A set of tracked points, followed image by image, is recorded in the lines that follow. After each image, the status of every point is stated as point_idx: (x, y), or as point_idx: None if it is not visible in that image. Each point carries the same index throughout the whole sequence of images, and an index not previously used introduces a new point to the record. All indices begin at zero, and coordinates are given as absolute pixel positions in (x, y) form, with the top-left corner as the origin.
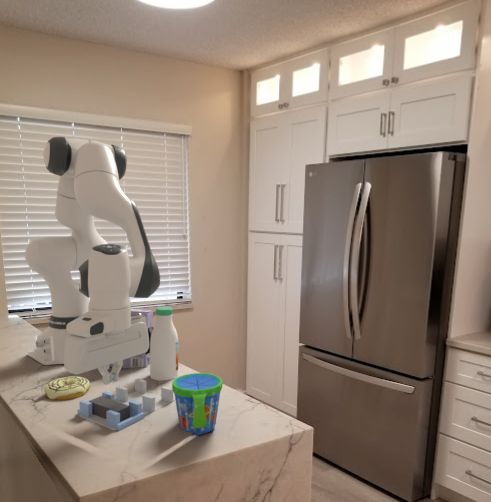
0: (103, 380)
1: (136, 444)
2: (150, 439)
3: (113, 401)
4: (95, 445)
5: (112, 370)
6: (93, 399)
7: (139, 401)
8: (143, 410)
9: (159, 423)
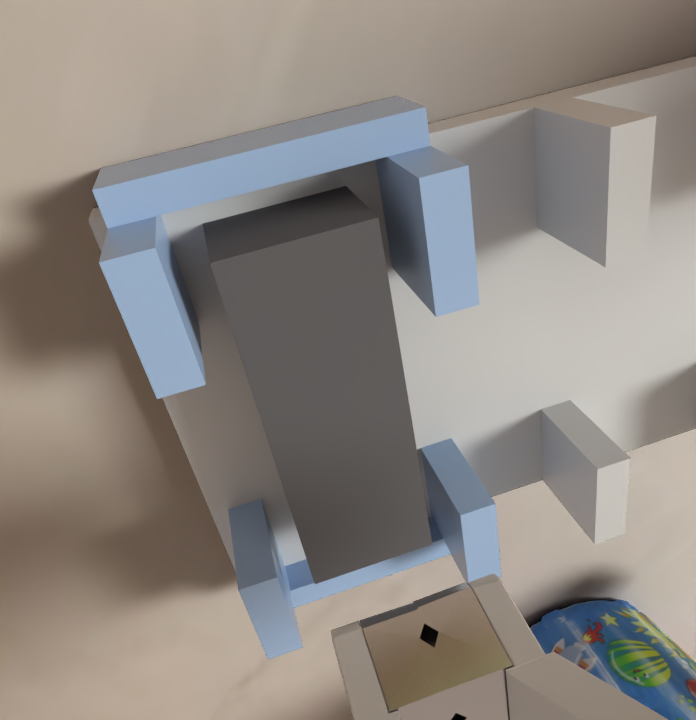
0: (340, 668)
1: (282, 669)
2: None
3: (392, 411)
4: (95, 608)
5: (533, 701)
6: (270, 257)
7: (611, 291)
8: (524, 438)
9: None
